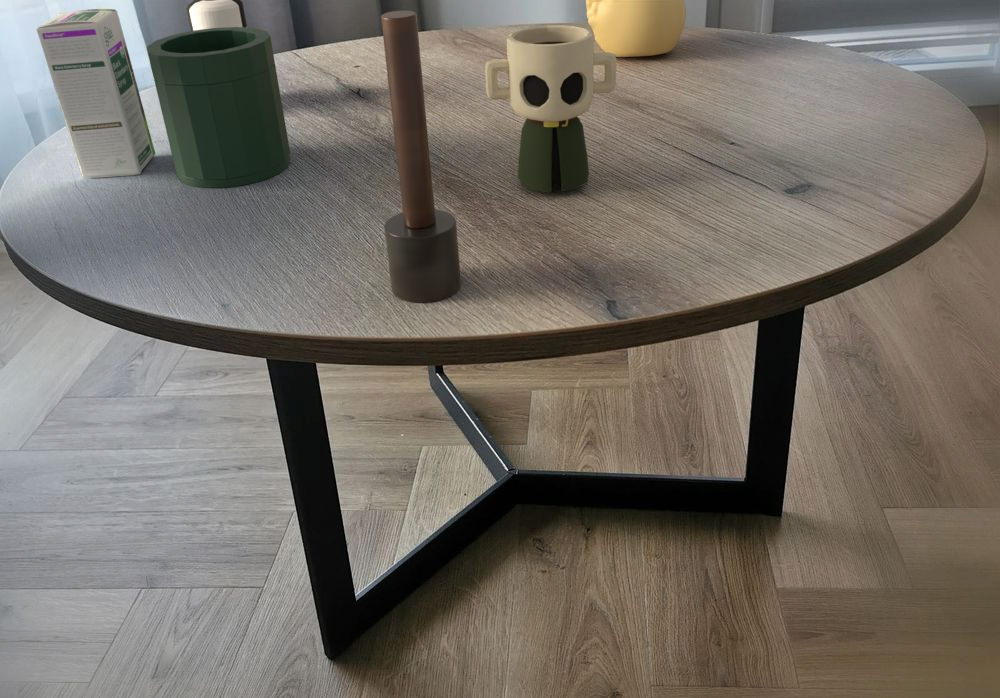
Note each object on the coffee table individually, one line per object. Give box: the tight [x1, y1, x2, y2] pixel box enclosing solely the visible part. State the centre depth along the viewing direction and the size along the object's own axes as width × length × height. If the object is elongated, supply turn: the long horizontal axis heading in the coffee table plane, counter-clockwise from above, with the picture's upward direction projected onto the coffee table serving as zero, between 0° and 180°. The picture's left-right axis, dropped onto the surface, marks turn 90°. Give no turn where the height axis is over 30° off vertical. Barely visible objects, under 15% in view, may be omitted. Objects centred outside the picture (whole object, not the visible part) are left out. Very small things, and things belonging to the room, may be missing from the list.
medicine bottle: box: [185, 0, 248, 31], centre depth 107 cm, size 7×7×12 cm
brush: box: [380, 10, 462, 303], centre depth 64 cm, size 5×5×19 cm
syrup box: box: [35, 8, 156, 179], centre depth 91 cm, size 6×6×14 cm
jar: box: [146, 27, 292, 189], centre depth 90 cm, size 11×11×12 cm
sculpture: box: [585, 0, 687, 58], centre depth 119 cm, size 12×12×11 cm
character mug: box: [484, 24, 617, 193], centre depth 81 cm, size 11×7×13 cm, turn 92°
